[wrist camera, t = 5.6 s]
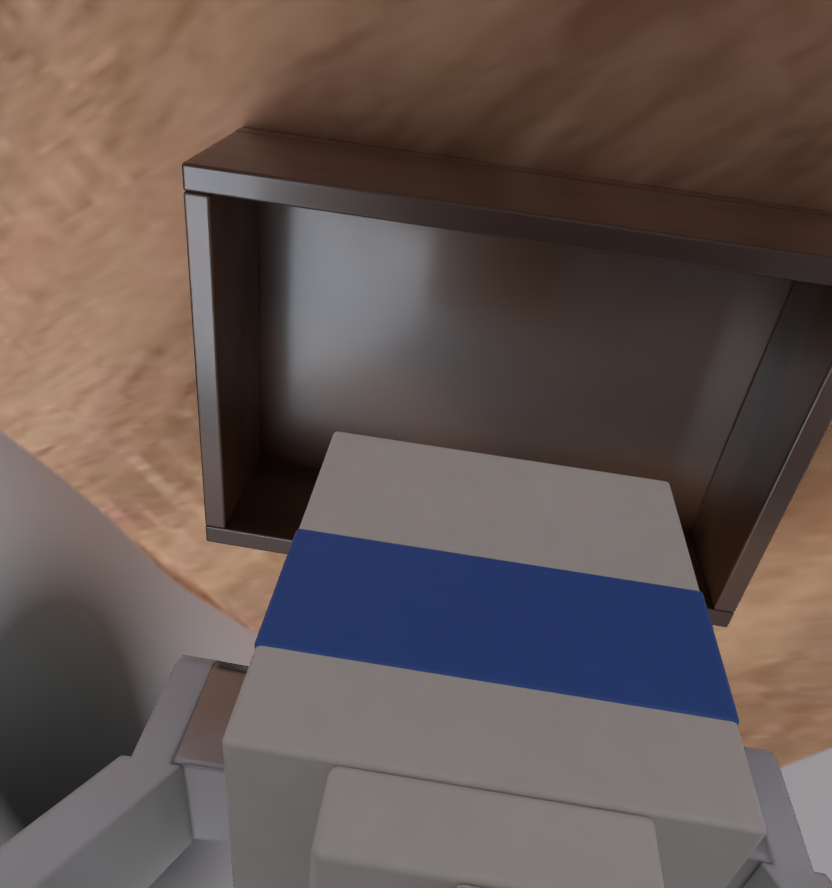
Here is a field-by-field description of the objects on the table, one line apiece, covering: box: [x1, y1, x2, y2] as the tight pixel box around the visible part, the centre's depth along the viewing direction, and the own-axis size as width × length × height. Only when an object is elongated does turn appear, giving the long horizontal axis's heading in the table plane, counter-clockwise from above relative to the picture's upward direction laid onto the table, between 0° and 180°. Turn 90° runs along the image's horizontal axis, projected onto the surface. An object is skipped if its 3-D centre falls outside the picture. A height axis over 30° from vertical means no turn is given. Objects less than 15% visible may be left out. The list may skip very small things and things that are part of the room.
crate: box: [182, 127, 832, 627], centre depth 20 cm, size 11×15×4 cm
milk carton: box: [222, 432, 766, 888], centre depth 10 cm, size 5×5×7 cm
